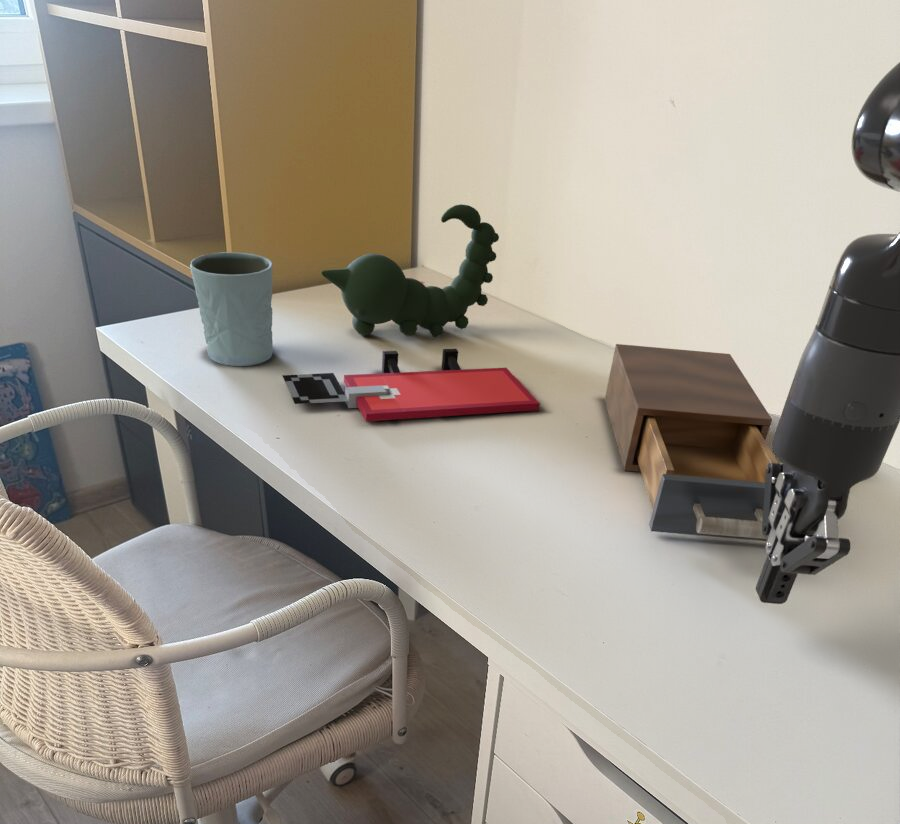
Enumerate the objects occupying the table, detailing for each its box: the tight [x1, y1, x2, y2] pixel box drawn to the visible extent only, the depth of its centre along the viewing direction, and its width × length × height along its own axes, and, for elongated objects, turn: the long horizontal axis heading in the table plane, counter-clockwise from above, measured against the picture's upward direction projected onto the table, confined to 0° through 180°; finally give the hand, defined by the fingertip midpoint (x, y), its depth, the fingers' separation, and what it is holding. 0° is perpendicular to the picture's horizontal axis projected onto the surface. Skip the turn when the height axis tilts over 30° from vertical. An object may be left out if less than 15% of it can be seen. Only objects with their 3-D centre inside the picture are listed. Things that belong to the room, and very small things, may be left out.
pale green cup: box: [189, 251, 274, 367], centre depth 109 cm, size 10×10×12 cm
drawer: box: [635, 415, 779, 542], centre depth 86 cm, size 23×13×6 cm, turn 178°
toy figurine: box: [320, 204, 500, 338], centre depth 119 cm, size 9×19×25 cm
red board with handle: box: [282, 348, 541, 422], centre depth 105 cm, size 30×3×15 cm
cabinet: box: [604, 343, 773, 473], centre depth 99 cm, size 20×15×8 cm
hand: (769, 597), depth 68 cm, fingers closed
